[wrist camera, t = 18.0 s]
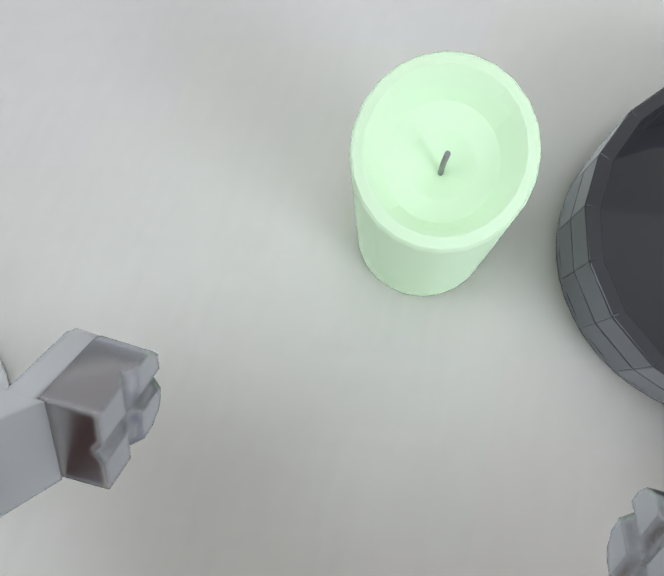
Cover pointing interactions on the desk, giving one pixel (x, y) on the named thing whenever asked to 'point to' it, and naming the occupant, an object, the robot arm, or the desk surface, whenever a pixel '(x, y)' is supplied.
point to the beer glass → (3, 378)
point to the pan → (620, 248)
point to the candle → (440, 169)
